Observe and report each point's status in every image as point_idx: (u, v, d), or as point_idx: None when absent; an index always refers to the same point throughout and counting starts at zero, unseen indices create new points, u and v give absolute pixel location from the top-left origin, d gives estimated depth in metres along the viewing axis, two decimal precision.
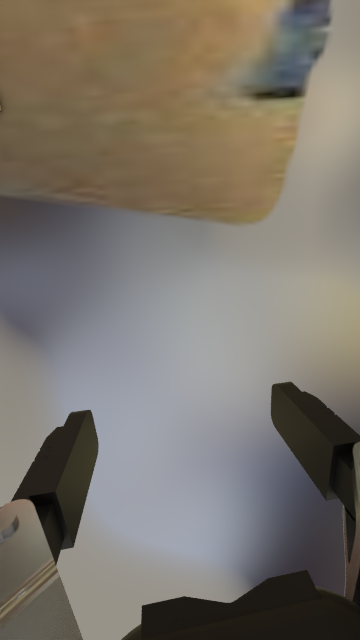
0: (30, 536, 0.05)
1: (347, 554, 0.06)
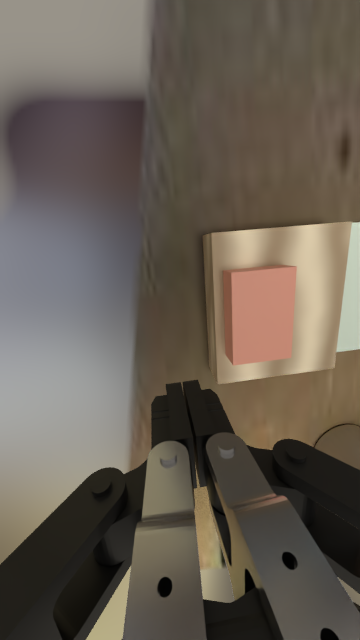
0: (181, 477, 0.06)
1: (226, 555, 0.06)
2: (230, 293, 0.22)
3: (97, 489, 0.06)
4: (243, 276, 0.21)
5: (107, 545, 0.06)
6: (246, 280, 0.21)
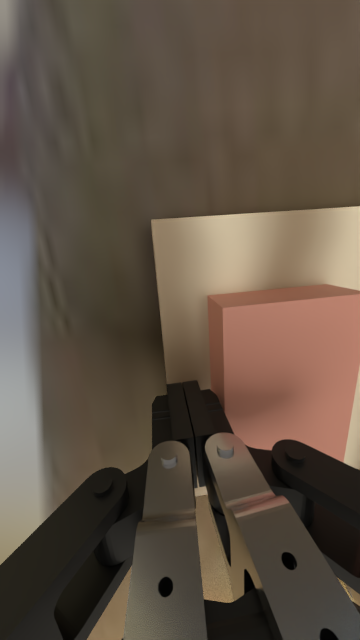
0: (182, 477, 0.06)
1: (225, 556, 0.06)
2: (220, 350, 0.10)
3: (98, 489, 0.06)
4: (250, 315, 0.09)
5: (108, 545, 0.06)
6: (257, 325, 0.09)
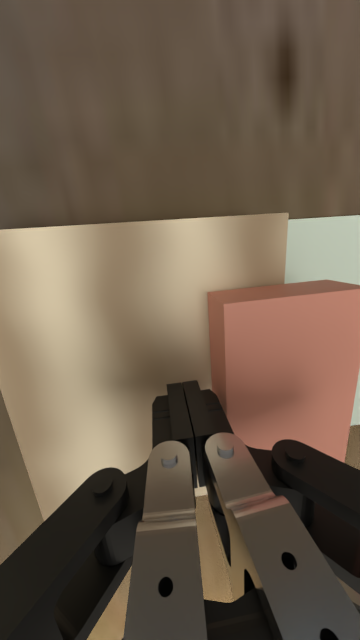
0: (182, 477, 0.06)
1: (225, 556, 0.06)
2: (222, 347, 0.10)
3: (98, 489, 0.06)
4: (252, 311, 0.09)
5: (108, 545, 0.06)
6: (258, 321, 0.09)
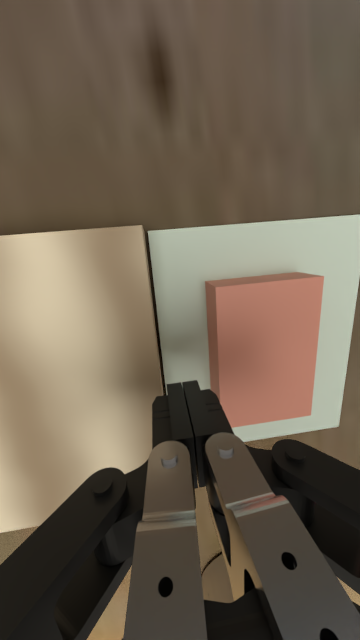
0: (182, 478, 0.06)
1: (225, 556, 0.06)
2: None
3: (98, 489, 0.06)
4: None
5: (108, 545, 0.06)
6: None
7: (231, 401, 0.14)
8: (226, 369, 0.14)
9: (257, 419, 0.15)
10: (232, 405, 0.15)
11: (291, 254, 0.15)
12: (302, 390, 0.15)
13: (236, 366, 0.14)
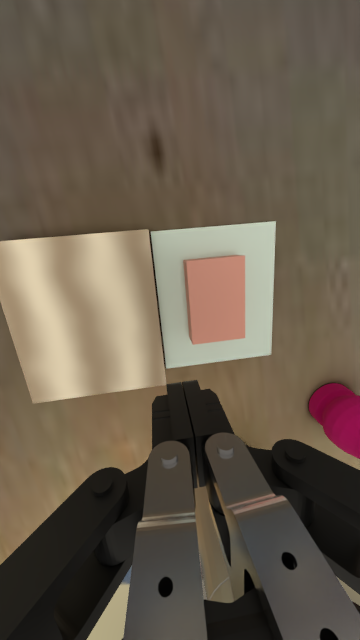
0: (182, 477, 0.06)
1: (225, 556, 0.06)
2: None
3: (98, 489, 0.06)
4: None
5: (108, 545, 0.06)
6: None
7: (197, 327, 0.26)
8: (194, 308, 0.25)
9: (213, 339, 0.26)
10: (198, 330, 0.26)
11: (232, 244, 0.26)
12: (238, 322, 0.26)
13: (199, 306, 0.25)
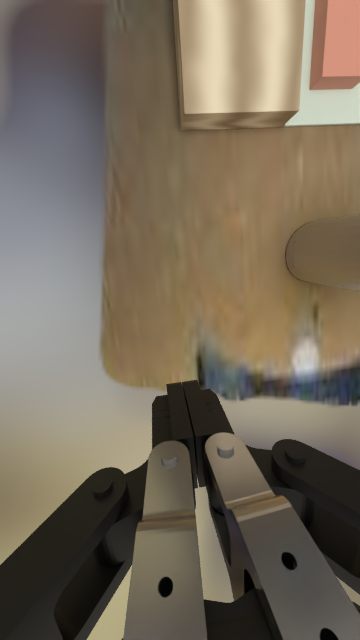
0: (182, 477, 0.06)
1: (225, 556, 0.06)
2: None
3: (98, 489, 0.06)
4: None
5: (108, 545, 0.06)
6: None
7: (329, 56, 0.28)
8: (329, 32, 0.28)
9: (340, 73, 0.29)
10: (329, 59, 0.29)
11: None
12: None
13: (334, 30, 0.28)
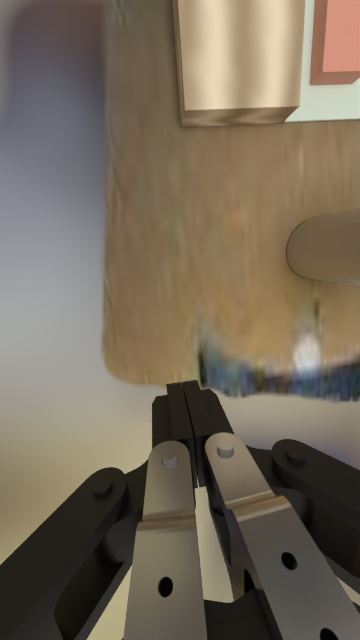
0: (182, 477, 0.06)
1: (225, 556, 0.06)
2: None
3: (98, 489, 0.06)
4: None
5: (108, 545, 0.06)
6: None
7: (329, 51, 0.28)
8: (329, 27, 0.28)
9: (341, 68, 0.29)
10: (329, 54, 0.28)
11: None
12: None
13: (334, 25, 0.28)
